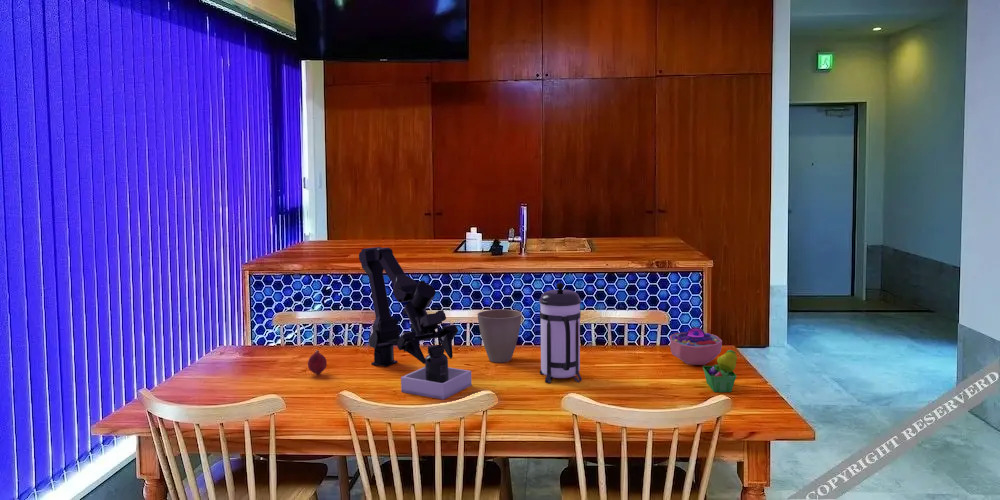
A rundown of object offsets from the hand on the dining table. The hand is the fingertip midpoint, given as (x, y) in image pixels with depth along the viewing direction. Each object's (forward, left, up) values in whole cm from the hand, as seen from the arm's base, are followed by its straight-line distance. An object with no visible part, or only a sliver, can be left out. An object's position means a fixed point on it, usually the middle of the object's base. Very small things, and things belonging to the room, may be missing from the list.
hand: (438, 360), depth 226 cm
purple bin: (0, -1, -9) cm, 9 cm away
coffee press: (-26, +28, -9) cm, 40 cm away
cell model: (-63, +59, -9) cm, 86 cm away
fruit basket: (-41, +73, -9) cm, 84 cm away
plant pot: (-37, 0, -9) cm, 38 cm away
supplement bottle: (-1, -1, -8) cm, 8 cm away
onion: (+5, -43, -9) cm, 44 cm away
